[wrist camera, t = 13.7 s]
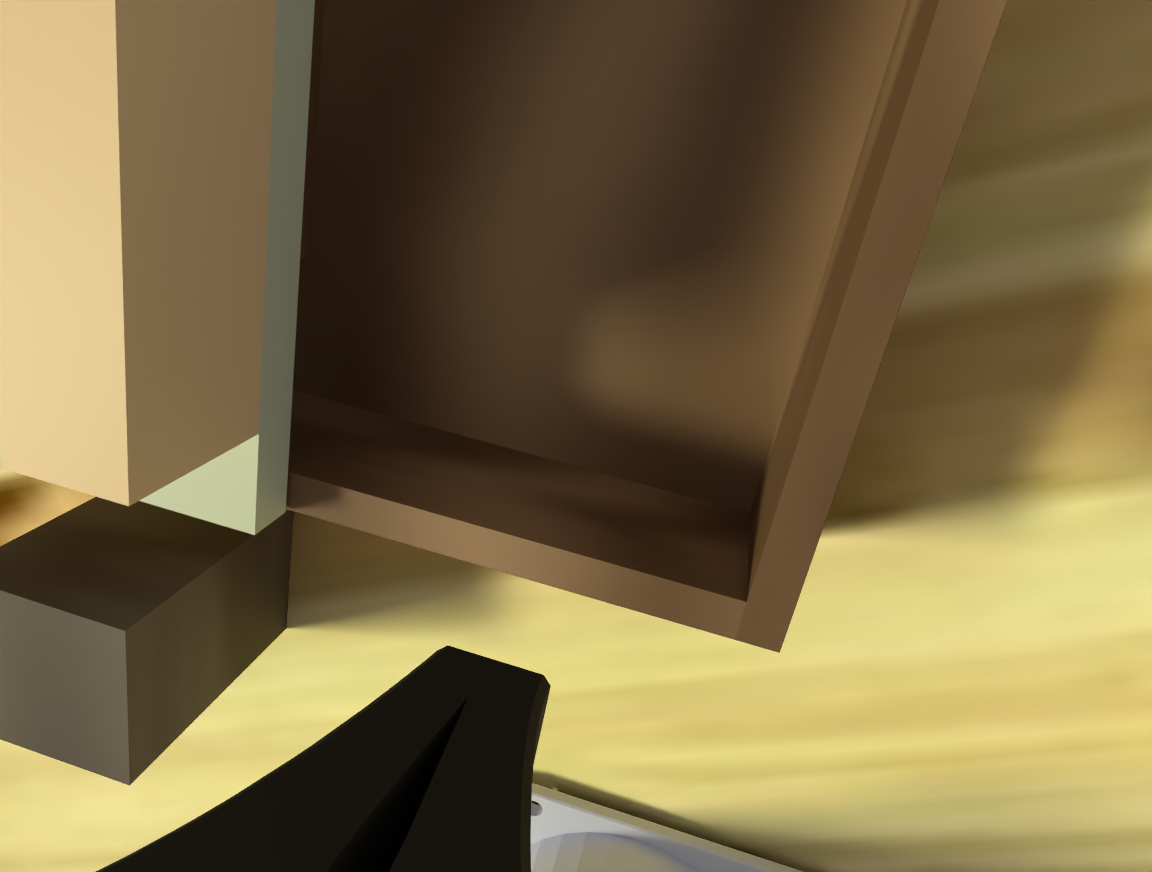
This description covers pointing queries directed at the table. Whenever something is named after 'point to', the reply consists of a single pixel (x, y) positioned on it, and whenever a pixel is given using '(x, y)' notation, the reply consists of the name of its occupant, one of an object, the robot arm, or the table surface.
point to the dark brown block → (130, 628)
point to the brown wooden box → (613, 278)
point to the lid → (153, 248)
